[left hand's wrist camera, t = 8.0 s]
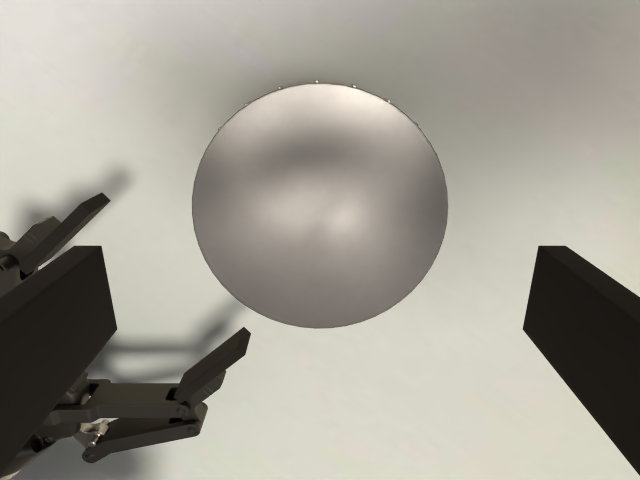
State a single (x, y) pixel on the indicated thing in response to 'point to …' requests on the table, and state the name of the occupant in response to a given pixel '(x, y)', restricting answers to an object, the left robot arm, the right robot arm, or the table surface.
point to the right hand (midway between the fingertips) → (175, 275)
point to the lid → (320, 205)
